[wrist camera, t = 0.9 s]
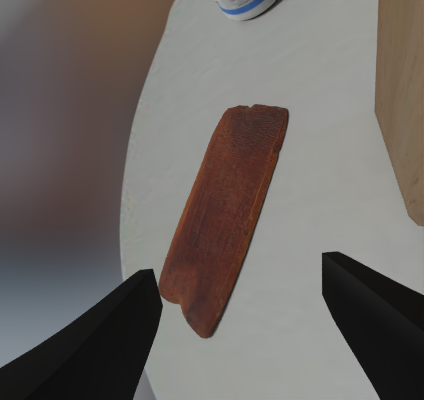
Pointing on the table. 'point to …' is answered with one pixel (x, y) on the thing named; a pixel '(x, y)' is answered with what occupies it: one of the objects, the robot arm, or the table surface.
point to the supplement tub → (243, 8)
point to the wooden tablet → (222, 213)
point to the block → (402, 96)
